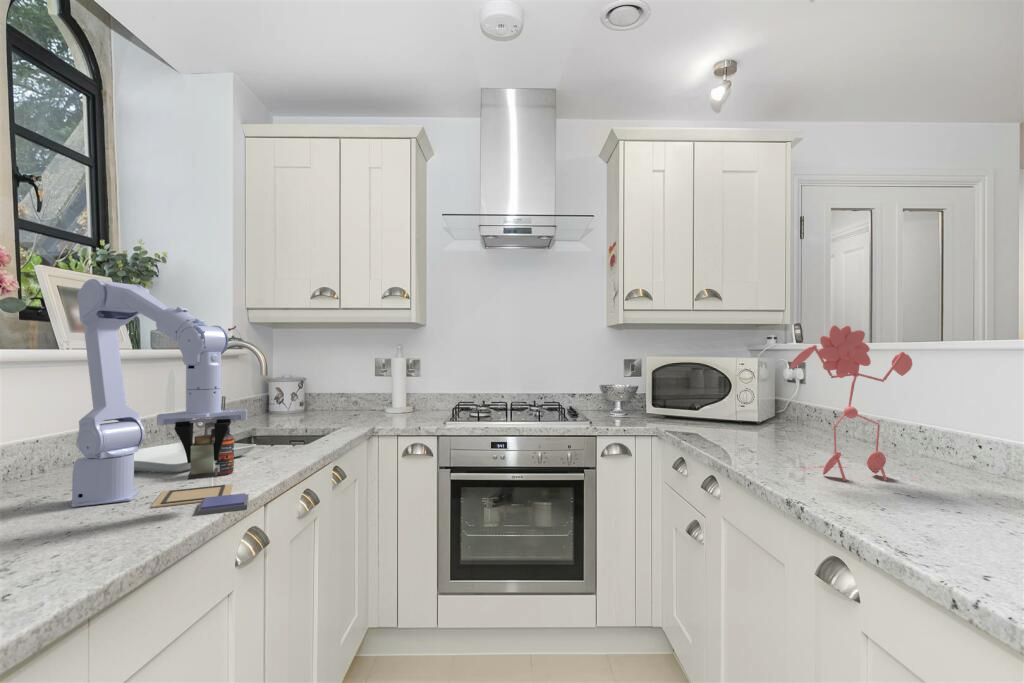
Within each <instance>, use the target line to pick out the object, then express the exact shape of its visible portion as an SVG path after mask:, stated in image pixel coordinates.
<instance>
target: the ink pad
mask: <svg viewBox="0 0 1024 683" xmlns="http://www.w3.org/2000/svg"><path fill="white" fill-rule="evenodd" d="M248 504H249V494H248V493H247V494H246V492H243V493H237V494H234V493H233V494H230V495H225V496H216V497H207V498H205V499H202V502H200V504H199V507H198V509H197V511H196V512H197V516H200V515H211V514H216V513H223V512H224V513H225V512H227V513H228V512H234V511H242V510H247V509H248Z"/></svg>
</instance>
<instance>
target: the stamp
mask: <svg viewBox="0 0 1024 683" xmlns="http://www.w3.org/2000/svg"><path fill="white" fill-rule="evenodd" d="M193 440H194V441H193V442H195V443H193V444H192V445H191V470H189V472H188V475H187V480H189V481H190V480H198V479H209V478H216V477H217V476H216V475H217V473H218V468H215V461H214V449H215V441H214V442H212V435H211V434H207V435H206V434H203V435H196V436H193Z"/></svg>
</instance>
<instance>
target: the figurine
mask: <svg viewBox="0 0 1024 683" xmlns="http://www.w3.org/2000/svg"><path fill="white" fill-rule="evenodd" d="M851 328H852V327H851V326H850V325H844V326H843V327H841V328H840V327H838V326H837V325H832V326H831V327H830V329H829V336H825V335H821V336H820V339H819V341H820V344H821V346H822V348H820V349H818V346H817V345H816V344H813V345H812V346H808V347H807V348H805V349H804V350H802V351H801V352H800V353H799V354H797V355H796V357H795V358H794V359H793V360H792V362H791V363H790V365H789V368H788V369H789V370H792V369H794V368H795V367H798V366H800V365H801V364H803V363H804V362H806V361H807V360H808V358H810V357H811V355H812V354H813V352H815V353H816V355H817V356H818V358H819V360H820V361H821V363H822V367H823V370H825V371H827V374H828V375H829V376H830V378H831V379H837V378H839V379H843V378H845V377H851V376H852V377H853V379H852V382H851V386H850V392H849V393H850V394H849V397H848V398H849V399H848V406H847V407H845V408H844V409H843V414H842V416H840V418H839V419H838V420H837V421H836V422H835V424H834V425H833V442H834V443H833V445H834V446H833V448H834V454H833V455H832V456H831V457H830V458H829V459H828V461H827V462H826V463H825V465H819V468H823V471H822V475H823V476H825V475H826V474H827V473H828V472H829V471H831V469H833V468H835V466H836V464H837V466H838V468H839V471H840V474H841V477H842V481H843V482H846V481H847V478H846V475H845V473H844V472H845V471H844V469H843V468H847V469H850V467H849V466H848V467H847V466H842V463H841V460H840V458H841V456H842V453H841V451H837V431H836V430H837V429H836V428H837V425H839V423H840V422H841V420H843V419H844V418H845V417H846V418H848V419H854V418H857V417H859V418H862V419H864V420H867V421H869V422H870V423H873V424H875V425H877V428H876V429H877V430H876V441H875V442H876V444H875V451H874V452H872V453H871V454H870V455H869V456H868V458H867V460H866V465H867V468H868V469H869V470H870V471H871V472H872V473H873V474H875V475H876V474H878V473H879V472H881V475H882V477H883V480H884V481H885V482H887V481H888V479H887V476H886V475H887V474H886V472H885V470H884V467H885V466H886V465H885V464H886V462H887V458H886V456H885V455H884V453H883V452H881V451H878V450H879V440H880V439H879V437H880V429H881V424H880V422H877V421H875V420H872V419H869V418H867V417H865V416H863V415H860V414H858V413H859V411H858V409H857V408H855V407H854V406H851V405H852V399H853V396H854V395H853V394H854V390H855V389H854V388H855V384H856V381H857V377H863V378H867V379H871V380H874V381H876V382H882V383H885V381H886V380H888V378H889V376H890V375H891V373H892V371H894V372H896V373H897V374H898V375H900V376H901V377H903V376H905V375H906V374H908V372H910V371H911V369H912V367H913V359H912V358H911V356H910V355H909V354H906V353H905V352H904V351H900V353H898V354H895V355H894V357H893V358H892V360H891V367H890V368H889V370H887V372H886V374H885V375H884V377H883V378H878V377H875V376H871V375H866V374H862V373H860V371H859V370H860V365H861V366H864V367H868V366H870V365H871V361H872V360H871V357H870V356H869V354H868V353H869V352H870V348H871V347H869V345H868V344H866V342H863V341H864V340H865V336H866V333H865V332H864V331H863V330H861V329H860V330H859V329H858V330H857V329H856V330H853V331H852V329H851ZM831 371H835V375H833V374H832V372H831ZM813 468H817V466H812V467H811V466H809V467H803V468H800V469H799V470H798V472H800V471H803V470H806V469H813ZM911 479H912V480H913V481H916V478H913V477H911Z"/></svg>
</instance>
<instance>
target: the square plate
mask: <svg viewBox="0 0 1024 683" xmlns="http://www.w3.org/2000/svg"><path fill="white" fill-rule="evenodd" d="M193 443H195V442H194V441H193ZM256 446H257V444H256V443H254V444H251V443H236V442H234V457H235V458H236V457H240V456H243V455H246V454H248V453H250V452H251V451H252V450H253V449H254V448H255V447H256ZM135 470H136V471H135ZM187 470H189V471H191V463H188V462H187V456H186V452H185V449H184V447H183V444H182V442H181V441H180V442H175V443H169V444H163V445H155V446H152V447H151V446H150V447H143V448H138V452H134V472H146V471H154V472H153V473H164V472H173V473H179V472H180V471H183V472H188V471H187ZM180 473H181V472H180Z"/></svg>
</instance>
